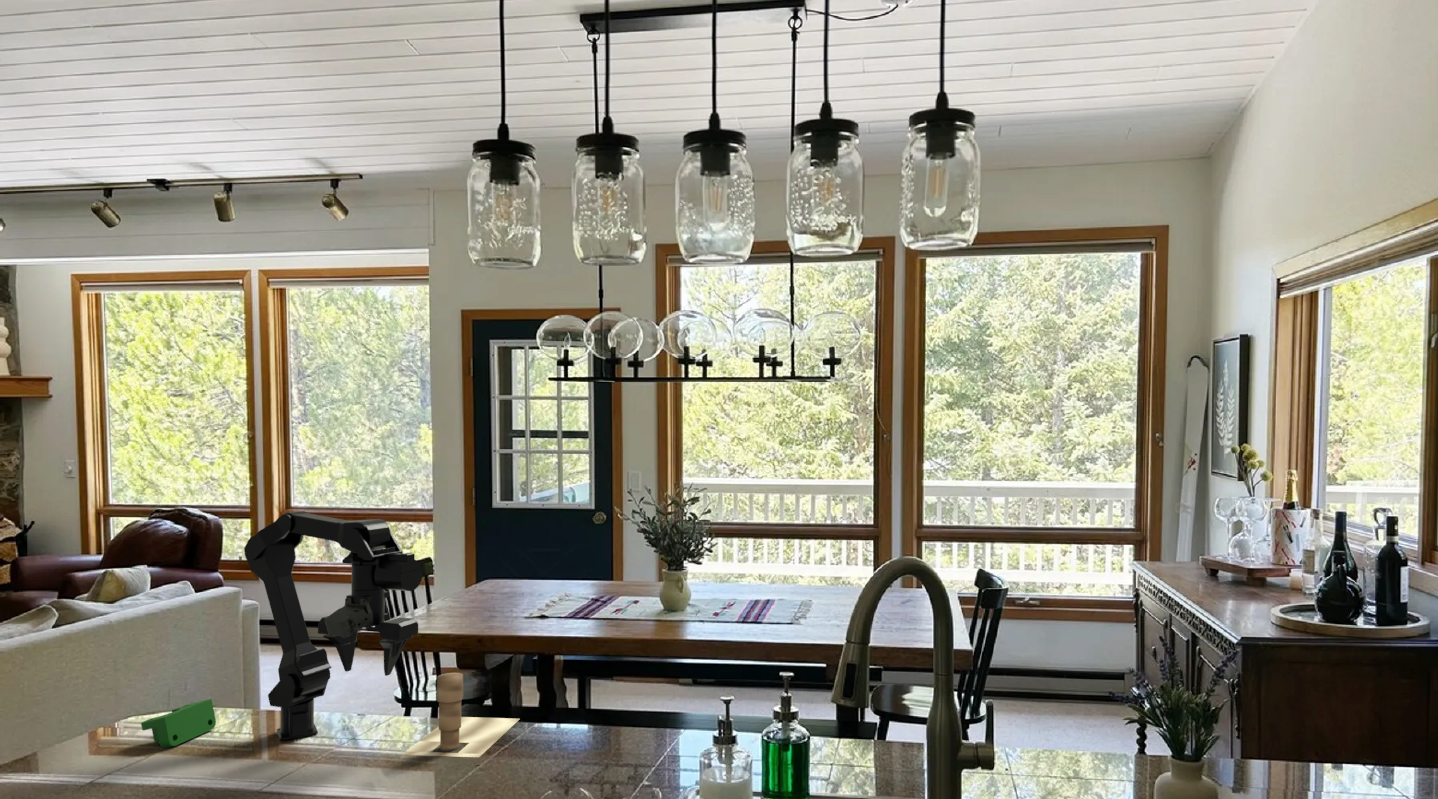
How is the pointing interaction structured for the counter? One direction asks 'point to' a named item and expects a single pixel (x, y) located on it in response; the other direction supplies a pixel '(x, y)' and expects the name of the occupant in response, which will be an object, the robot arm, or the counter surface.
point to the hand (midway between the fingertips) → (367, 673)
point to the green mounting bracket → (182, 723)
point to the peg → (449, 709)
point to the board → (466, 737)
